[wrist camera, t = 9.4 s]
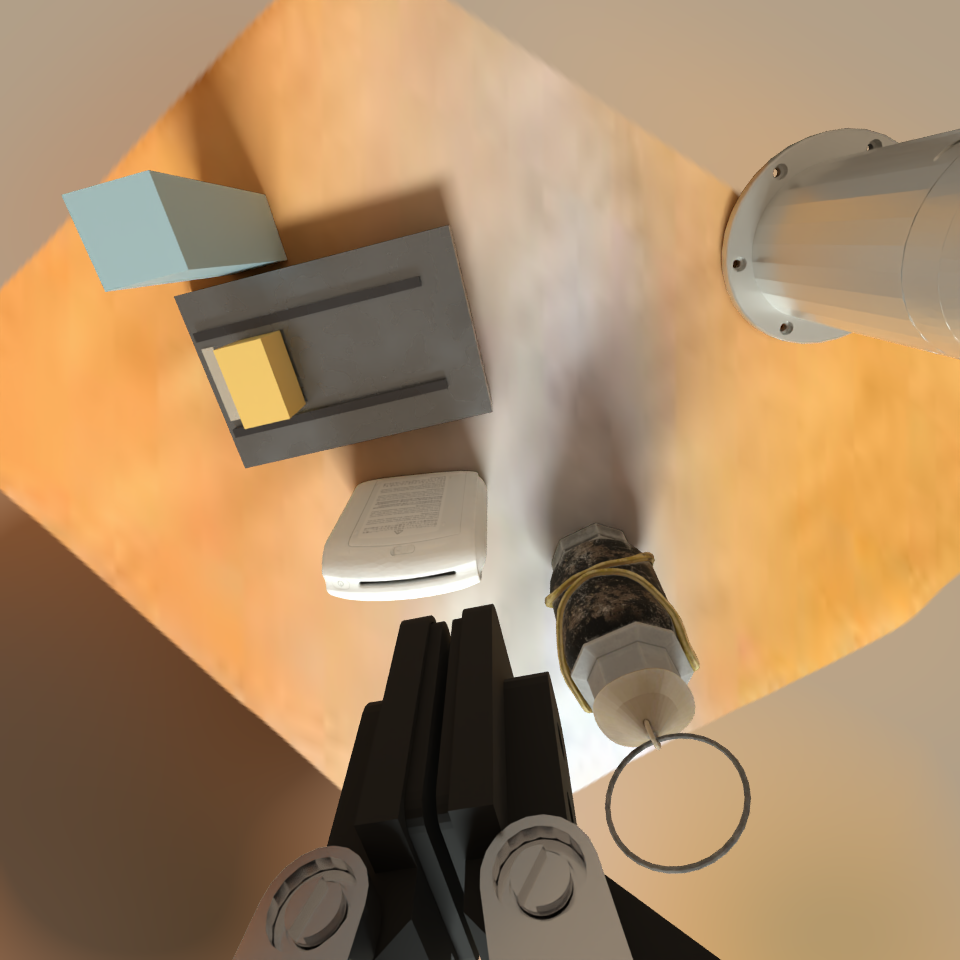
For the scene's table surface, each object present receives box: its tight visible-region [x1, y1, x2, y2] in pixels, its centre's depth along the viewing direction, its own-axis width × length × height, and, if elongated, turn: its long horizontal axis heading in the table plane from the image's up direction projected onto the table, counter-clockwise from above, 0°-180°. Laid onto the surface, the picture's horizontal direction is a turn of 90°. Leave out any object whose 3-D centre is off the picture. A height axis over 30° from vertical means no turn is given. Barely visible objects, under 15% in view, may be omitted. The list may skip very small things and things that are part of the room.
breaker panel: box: [174, 225, 492, 468], centre depth 40 cm, size 18×12×3 cm, turn 103°
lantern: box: [545, 523, 751, 873], centre depth 36 cm, size 9×8×25 cm
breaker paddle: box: [213, 330, 306, 429], centre depth 37 cm, size 3×5×4 cm, turn 13°
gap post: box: [62, 170, 287, 292], centre depth 32 cm, size 4×4×14 cm
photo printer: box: [322, 471, 487, 601], centre depth 39 cm, size 10×4×12 cm, turn 97°
